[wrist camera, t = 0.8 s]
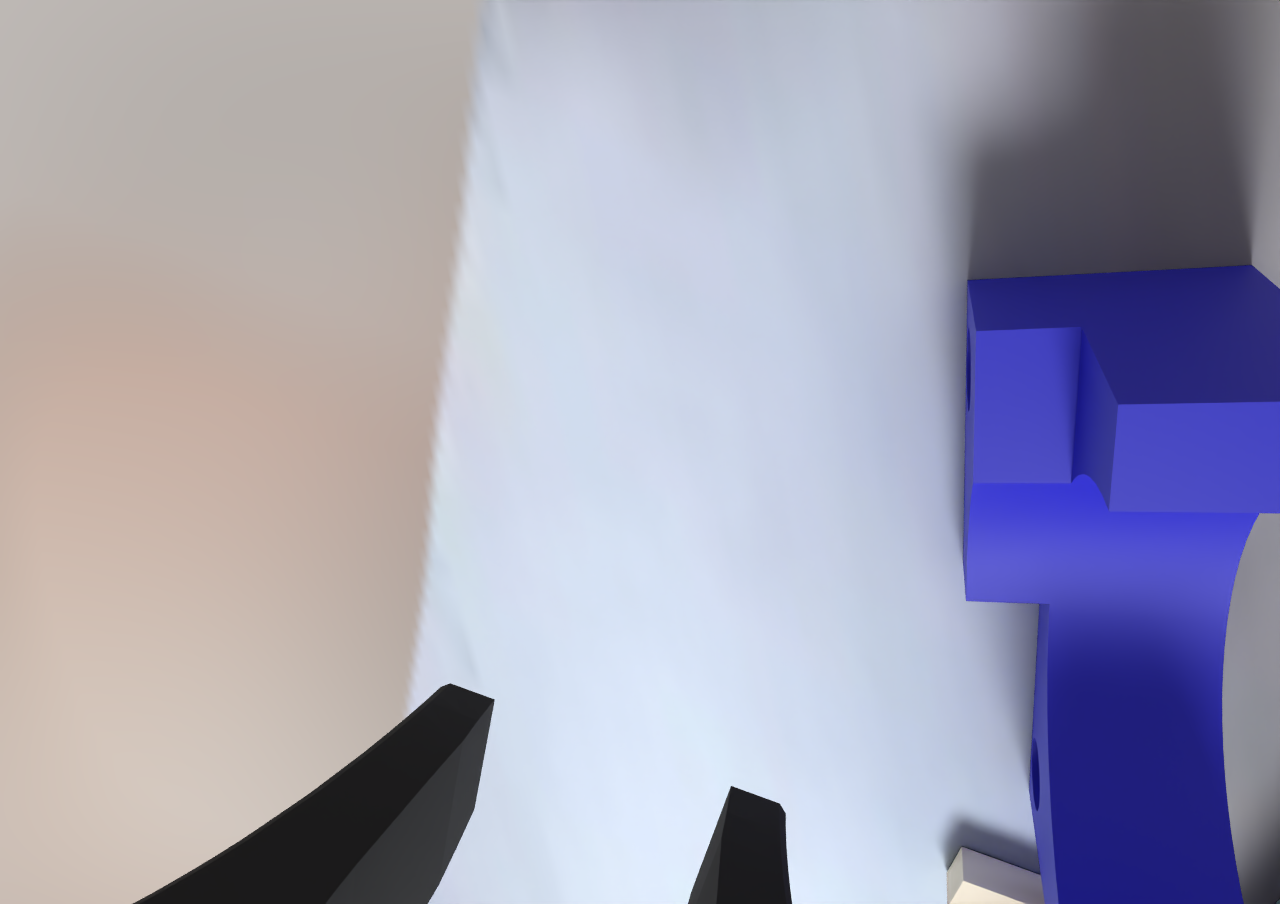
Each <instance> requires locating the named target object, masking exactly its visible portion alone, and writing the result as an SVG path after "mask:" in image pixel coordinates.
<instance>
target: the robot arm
mask: <svg viewBox="0 0 1280 904" xmlns="http://www.w3.org/2000/svg"><path fill="white" fill-rule="evenodd" d="M493 706H494V699H491V698H489V697H486V696H483V695H480V694H478V693H475V692H472V691H470V690H467V689H464V688H461V687H459V686H456V685H453V684H447V685H445V686H442V687H440V688H439V689H438V690H437V691H436V692H435V693H434V694H433V695H432V696H431V697H429V698H428V699H427V700H426V701H425V702H424V703H423V704H422V705H420V706H419V707H418V708H417V709H416V710H415V711H414V712H412V713H411V714H410V715H409V716H408V717H407V718H405V719H404V720H403V721H402V722H401V723H399V724H398V725H397V726H396V727H395V728H393V729H392V730H391V731H390V732H389V733H387V734H386V735H385V736H384V737H382V738H381V739H380V740H379V741H377V742H376V743H375V744H374V745H373V746H371V747H370V748H369V749H368V750H366V751H365V752H364V753H363V754H361V755H360V756H359V757H357V758H356V759H355V760H353V761H352V762H351V763H349V764H348V765H347V766H345V767H344V768H343V769H341V770H340V771H339V772H338V773H336V774H335V775H333V776H332V777H331V778H329V779H328V780H327V781H326V782H324V783H323V784H322V785H320V786H319V787H318V788H316V789H315V790H314V791H312V792H311V793H309V794H308V795H307V796H305V797H304V798H302V799H301V800H299V801H298V802H297V803H295V804H294V805H292V806H291V807H289V808H288V809H286V810H285V811H283V812H282V813H280V814H279V815H277V816H276V817H274V818H273V819H272V820H270V821H269V822H267V823H266V824H264V825H263V826H261V827H260V828H258V829H257V830H255V831H254V832H253V833H251V834H249V835H248V836H247V837H245V838H243V839H242V840H241V841H239V842H237V843H236V844H234V845H232V846H231V847H229V848H228V849H226V850H225V851H223V852H221V853H220V854H218V855H217V856H215V857H213V858H212V859H210V860H208V861H207V862H205V863H203V864H202V865H200V866H199V867H197V868H195V869H193V870H192V871H190V872H188V873H187V874H185V875H183V876H181V877H180V878H178V879H176V880H175V881H173V882H171V883H169V884H168V885H166V886H164V887H163V888H161V889H159V890H157V891H155V892H154V893H152V894H150V895H148V896H146V897H145V898H143V899H141V900H139V901H137V902H135V903H133V904H428V902H429V901H430V899H431V897H432V895H433V894H434V892H435V890H436V889H437V887H438V885H439V883H440V881H441V879H442V877H443V875H444V873H445V871H446V869H447V867H448V865H449V862H450V860H451V858H452V856H453V854H454V852H455V850H456V848H457V846H458V843H459V841H460V839H461V837H462V835H463V833H464V830H465V828H466V826H467V824H468V822H469V820H470V817H471V815H472V813H473V811H474V808H475V802H476V797H477V792H478V786H479V781H480V776H481V770H482V765H483V759H484V754H485V749H486V743H487V738H488V733H489V727H490V722H491V716H492V711H493ZM688 904H792V900H791V892H790V883H789V873H788V863H787V849H786V813H785V812H784V810H783V808H782V807H781V805H780V804H779V803H776V802H774V801H771V800H768V799H765V798H763V797H760V796H757V795H754V794H752V793H749V792H746V791H743V790H741V789H738V788H735V787H733V786H731V788H730V791H729V793H728V796H727V798H726V801H725V804H724V806H723V809H722V812H721V814H720V817H719V820H718V822H717V825H716V828H715V830H714V833H713V836H712V838H711V841H710V844H709V846H708V849H707V852H706V854H705V857H704V860H703V862H702V865H701V868H700V870H699V873H698V876H697V878H696V881H695V884H694V886H693V889H692V892H691V895H690V899H689V902H688Z"/></svg>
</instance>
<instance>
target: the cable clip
mask: <svg viewBox="0 0 1280 904" xmlns="http://www.w3.org/2000/svg"><path fill="white" fill-rule="evenodd" d="M1259 513H1280V289H1279V288H1278V287H1277V286H1276V285H1274V284H1273V283H1272V282H1271V281H1270V280H1269V279H1267V278H1266V277H1265V276H1264V275H1263V274H1262V273H1260V272H1259V271H1258V270H1257V269H1256V268H1255V267H1254V266H1252V265H1245V266H1226V267H1207V268H1188V269H1169V270H1150V271H1131V272H1112V273H1094V274H1075V275H1056V276H1037V277H1018V278H999V279H980V280H968V283H967V348H966V413H965V478H964V543H963V568H964V580H965V593H966V601H980V602H1007V603H1035V604H1039V620H1038V638H1037V656H1036V674H1035V692H1034V711H1033V729H1032V747H1031V765H1030V783H1029V793H1030V800H1031V807H1032V815H1033V822H1034V829H1035V836H1036V844H1037V851H1038V858H1039V866H1040V873H1041V880H1042V887H1043V895H1044V902H1045V904H1244V902H1243V898H1242V893H1241V888H1240V883H1239V877H1238V872H1237V866H1236V861H1235V854H1234V848H1233V842H1232V835H1231V828H1230V820H1229V812H1228V803H1227V793H1226V783H1225V770H1224V755H1223V732H1222V682H1223V661H1224V646H1225V637H1226V627H1227V619H1228V613H1229V606H1230V600H1231V595H1232V590H1233V585H1234V580H1235V576H1236V572H1237V569H1238V565H1239V561H1240V558H1241V555H1242V552H1243V549H1244V546H1245V543H1246V540H1247V538H1248V535H1249V533H1250V531H1251V529H1252V526H1253V524H1254V522H1255V520H1256V519H1257V517H1258V515H1259Z"/></svg>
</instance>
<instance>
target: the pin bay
mask: <svg viewBox="0 0 1280 904" xmlns="http://www.w3.org/2000/svg"><path fill="white" fill-rule="evenodd" d="M947 904H1045V902H1044V895H1043V887H1042V880H1041V875H1039V874H1036V873H1033V872H1031V871H1028V870H1025V869H1022V868H1019V867H1017V866H1014V865H1011V864H1008V863H1006V862H1003V861H1000V860H997V859H995V858H992V857H989V856H986V855H984V854H981V853H978V852H975V851H973V850H970V849H967V848H964V847H961V849H960V851H959V852H958V854H957V856H956V857H955V859H954V861H953V863H952V864H951V866H950V868H949V870H948V871H947ZM1276 904H1280V899H1279V900H1278V902H1277V903H1276Z"/></svg>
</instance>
